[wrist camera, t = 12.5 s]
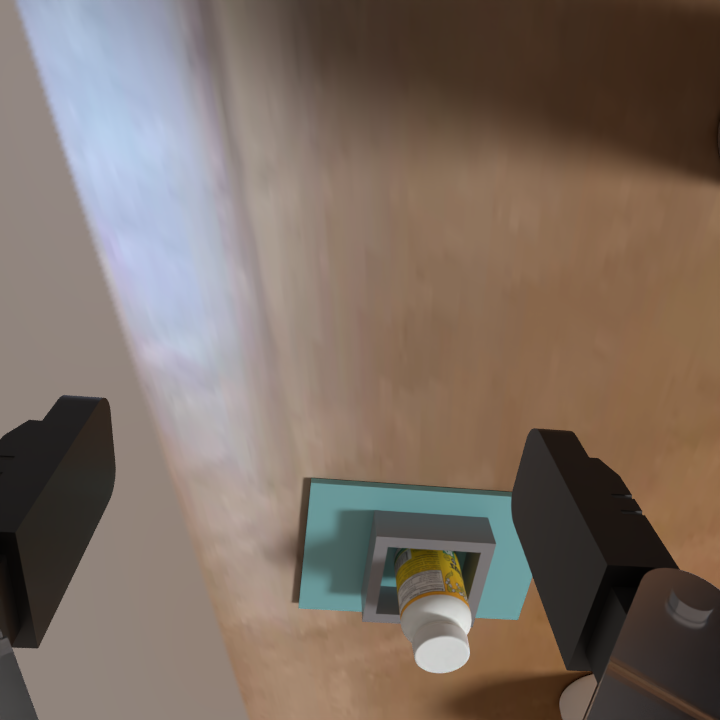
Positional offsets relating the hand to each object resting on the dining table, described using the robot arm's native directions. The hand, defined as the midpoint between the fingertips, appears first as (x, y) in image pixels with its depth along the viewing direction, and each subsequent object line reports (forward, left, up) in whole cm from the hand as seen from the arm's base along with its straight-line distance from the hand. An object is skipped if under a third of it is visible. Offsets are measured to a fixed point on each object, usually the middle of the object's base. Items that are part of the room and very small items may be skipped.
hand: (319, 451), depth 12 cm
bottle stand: (-11, +31, -30) cm, 45 cm away
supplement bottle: (-11, +31, -30) cm, 44 cm away
